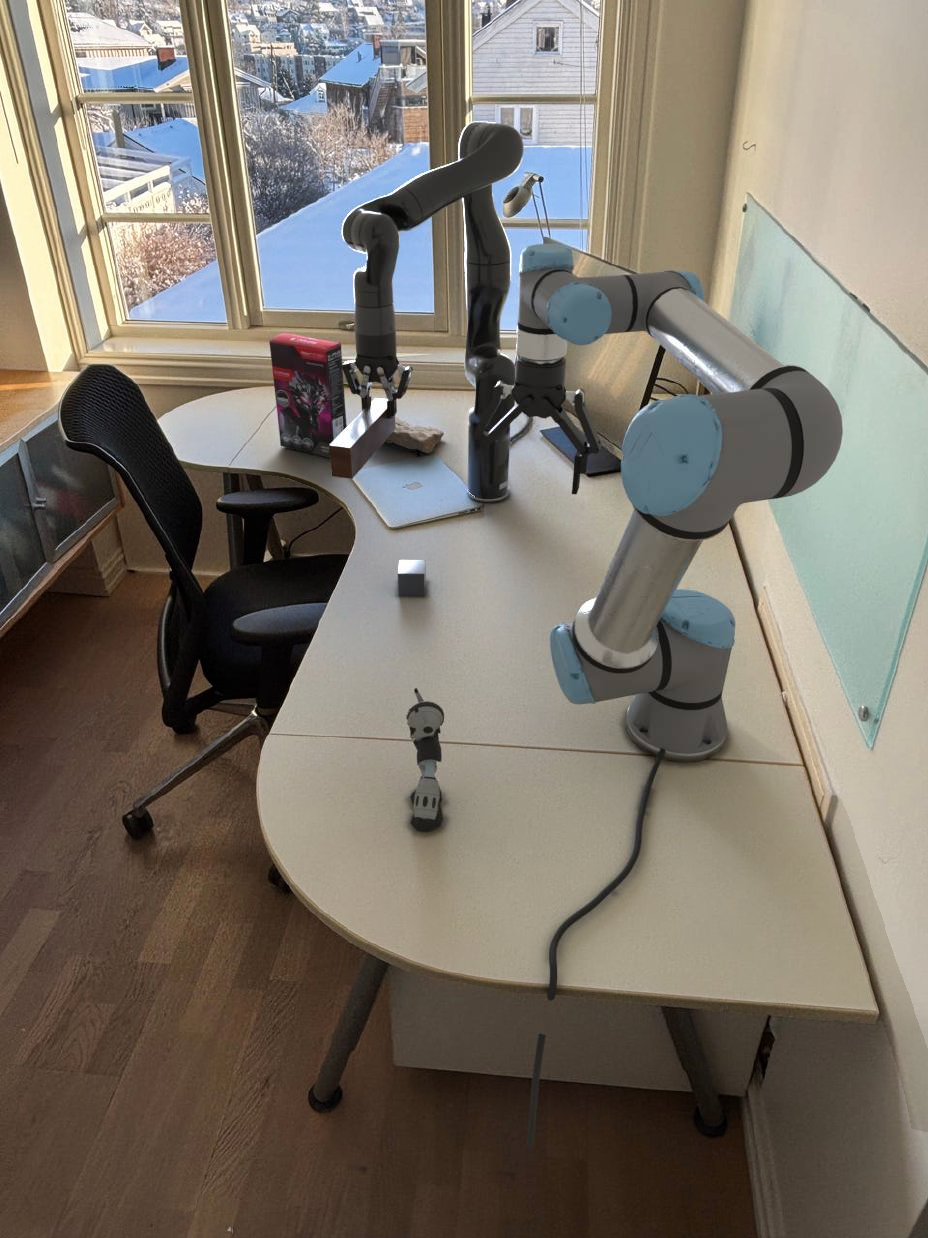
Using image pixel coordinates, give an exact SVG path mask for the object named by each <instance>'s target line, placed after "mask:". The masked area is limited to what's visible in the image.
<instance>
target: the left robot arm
mask: <svg viewBox="0 0 928 1238" xmlns="http://www.w3.org/2000/svg"><path fill="white" fill-rule="evenodd" d="M524 148H525V147H524V141H523V138H522V135H521V133H520V132H519V131H518V130H517V129H516V128H515V127H513V126H511V125H509V124H505V123H500V122H498V123H497V122H488V121H472V122H470V123H468V124H467V125H466V126H465V127H464V128H463V130H462V132H461V135H460V138H459V141H458V150H457V151H458V153H457V154H458V160H457V161H454V162H452V163H449V164H445V165H443V166H440V167H437V168H435V169H431V170H428V171H425V172H424V173H421V174H419V175H417V176H415V177H414V178H412V179H410V180H409V181H407V182H405V183H404V184H403V185H401V186H400V187H398V188H397V189H395V190H394V191H393V192H391V193H388V194H387V195H383V196H380V197H378V198H374V199H373V200H370V201H367V202H365V203H362V204H361V205H358V206H357V207H355V208H354V209H352V210H351V211H350V212H348V214H347V216H346V217H345V218H344V220H343V223H342V227H341V228H342V229H341V236H342V239H343V241H344V243H345V245H347V247H348V248H350V249H351V250H353V251H356V252H357V253H358V252H359V253H362V254H366V263H365V266H363V267H361V268H357V270H356V271H354V274H353V298H354V299H353V300H354V312H353V319H354V320H353V327H354V337H355V353H356V356H355V359H353V360H350V359H349V360H347V361H345V362H344V363H342V369H343V375H344V377H345V380H346V382H347V385H348V387H349V390H350V392H351V394H352V395H357V396H359V397H360V400H361V401H360V402H361V412H362V411H363V410H364V409H365V408H366V407H367V406H368V405H369V404H370V403H371V402H372V401H373V400H372V395H371V394H370V393H371V389H372V384H373V383H378V384H381V387H382V389H383V391H384V392H385V396H386V399H388V400H387V418H388V419H392V418H393V417H394V416H395V417H396V415H397V412H398V409H397V408H398V406H397V405H398V403H397V400H400V399H402V398H403V397H404V396H405V395H406V393H407V391H408V388H409V383H410V381H411V378H412V374H413V371H414V368H413V367H412V366H411V365H408V366H405V365H403V364H401V363H400V360H398V356H397V351H398V350H397V328H396V327H397V325H396V323H397V322H396V311H395V306H394V285H393V279H394V275H395V272H396V271H395V270H396V266H397V261H398V256H399V251H400V245H401V236H400V235H401V234H400V232H402V233H404V232H405V233H407V232H410V231H412V230H414V229H417V228H418V227H419V226H421V225H422V224H423V223H425V222H426V221H428V220H429V219H431V218H432V217H434V216H435V215H437V214H438V213H439V212H441V211H442V210H444V209H446V208H448V207H449V206H450V205H453V204H454V203H456V202H458V201H460V200H461V199H462V206H463V222H464V223H463V224H464V225H463V226H464V272H465V273H464V278H465V279H464V280H465V281H464V282H465V303H466V305H465V306H466V338H465V349H464V359H463V360H464V361H463V362H464V363H463V368H464V374H465V377H466V378H467V381H468V382H469V383H470V384H471V385H472V386H473V387H474V388H475V390H474V391H475V392H474V393H475V394H474V406H471V408H470V409H469V411H468V421H467V423H468V424H467V425H468V427H467V428H468V429H467V430H468V432H467V433H468V434H467V436H468V437H467V489H466V495H467V496H468V497H469V498H470V499H472V500H474V501H476V502H481V503H496V502H500V501H503V500H505V499H507V497H509V475H510V473H509V471H510V450H511V449H510V445H511V442H512V441H514V440H515V439H516V438H519V437H520V436H521V435H522V434H524V432H525V431H526V430H527V429H528V427H529V426H530V424H531V419H532V417H527V419H526V423H525V425H524V426H523V427H522V428H521V429H520V430H519V431H517V432H516V433H515V434H514V435H512V436H511V423H510V424H509V425H508V426H507V427H506V428H505V429H504V430H503V431H502V432H501V433H500V434H499V435H498V436H497V437H496V438H495V439H494V440H499V441H498V474H497V479H496V481H495V482H494V484H489V464H490V463H487V462H484V444H483V442H482V441H480V440H474V439H473V437H472V435H473V433H474V431H475V430H476V428H477V426H478V424H479V422H480V421H481V419H482V417H483V415H484V413H485V412H486V410H487V408H488V406H489V404H490V403H491V401H492V399H493V392H494V387H495V386H496V385H497V383H498V382H499V381H503V382H504V383H505V384H506V385H511V386H514V384H515V368H516V364H515V362H514V361H513V360H512V359H511V358H510V357H509V356H508V355H506V354H505V353H504V352H503V351H502V346H501V345H502V344H501V317H502V314H503V310H504V307H505V304H506V302H507V299H508V296H509V293H510V288H511V280H512V249H511V246H510V245H511V244H510V241H509V239H508V236H507V234H506V231H505V228H504V226H503V224H502V221H501V219H500V217H499V214H498V212H497V208H496V206H495V201H494V191H493V189H494V188H493V184H495V183H498V182H500V181H502V180H504V179H507V178H509V177H510V176H512V175H513V174H514V173H515V172H516V171H517V170H518V169H519V167H520V166H521V163H522V161H523V156H524ZM357 369H358V371H359V372H360V374H361V375H362V379H361V382H360V380H359V378H358V374H357V372H356V371H357ZM396 372H398V377H399V378H400V380H399V383H398V387H397V388H396V385H395V384H396V382H395V378H394V375H395V373H396ZM515 405H516V401H515V400H514V398H513V397H512V395H511V394H508V395H507V397H506V398H505V399H502V400H501V402H500V404H499V405H498V407H497V409H496V411H495V412H494V414H493V416H492V418H491V419H490V421H489V423H488V425H487V427H486V428H485V430H484V431H486V432H490V431H491V430H492V429H493V428H494V427H495V425H496V424H497V423H498V422H499V421H500V420H501V419H502V418H503V417H504V416H505V415H506V414H507V413H508V412H509V411H510V410H511V409H512V408H513V407H514V406H515ZM494 440H493V441H494ZM468 491H469V492H470V493H471V494H472V495H474V496H475V497H474V496H472V495H471V494H469V492H468Z"/></svg>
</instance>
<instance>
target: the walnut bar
mask: <svg viewBox="0 0 928 1238" xmlns="http://www.w3.org/2000/svg"><path fill="white" fill-rule="evenodd" d="M387 400H388V399H387V398H378V397H375V398H374V399H373V400H371V401H372V402H371V403H370V404H369V405H368V406H367V407H366V408H365V409H364V410H363V411H362V410H361V412H360V413H359V414H357V416H356V417H355V418H354V419H353V420H352V421H351V422H350V423H349V424H348V425H347V428H346V429H345V430H344V431H343V432H342V433H341V434H340V435H339V436H338V437H337V438H336V439H335V440H334V441H333V442H332V443H331V444H330V445H329V451H330V457H329V462H330V472H331V477H333V478H341V479H349V480H353V479H354V478H355V477H356V475H358V473H359V472H360V471H361V470H362V468H363V467H364V466H365V465H366V464H367V463H368V462H369V461H370V459H371V458H372V457H373V456H374V455H375V453H376V452H377V451H378V450H379V449H380V447H382V445H383V444H384V443H386V442H385V440H386V439H387V438H388V437H389V436H390V435H391V433H392V432H393V431H394V430H395V429H396V427H395V417H396V415H395V416H394V417H393V418H392V419H388V418H387Z"/></svg>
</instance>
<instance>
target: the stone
mask: <svg viewBox="0 0 928 1238" xmlns="http://www.w3.org/2000/svg"><path fill="white" fill-rule="evenodd" d="M395 427H396V429H395V430H394V431H393V432H392V433H391V435H390V436H389V437H388V438H387V439H386V440H385V442H384V443H388V444H392V443H394V444H395V445H398V446H400V447H404V448H406V449H410V450H416V451H417V450H418V451H420V452H422V453H426V454H431V453H432V452H433V451H434V449H435V446H436V445H437V444H438V443H439V442H440V441H441V440H442V438H443V437H444V432H443V431H442V430H439V429H438V428H434V427H431V426H422V425H417V424H409V423H408V422H406V421H404V420H400V419H399V417H397V416H395Z"/></svg>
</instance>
